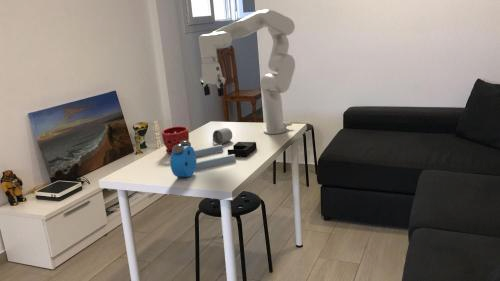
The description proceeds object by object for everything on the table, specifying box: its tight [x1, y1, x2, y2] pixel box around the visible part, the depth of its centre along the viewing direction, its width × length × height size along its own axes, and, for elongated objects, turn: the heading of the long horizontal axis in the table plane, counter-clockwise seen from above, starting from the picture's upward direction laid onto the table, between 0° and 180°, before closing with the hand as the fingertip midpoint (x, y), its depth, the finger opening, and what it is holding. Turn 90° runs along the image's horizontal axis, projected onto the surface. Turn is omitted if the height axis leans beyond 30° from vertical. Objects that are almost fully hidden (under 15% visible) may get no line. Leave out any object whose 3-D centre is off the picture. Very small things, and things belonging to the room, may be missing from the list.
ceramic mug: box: [212, 127, 233, 146], centre depth 236 cm, size 11×8×8 cm
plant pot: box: [161, 125, 190, 156], centre depth 226 cm, size 13×13×12 cm
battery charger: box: [227, 141, 258, 159], centre depth 215 cm, size 13×10×4 cm
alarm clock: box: [169, 140, 197, 179], centre depth 190 cm, size 13×6×15 cm, turn 163°
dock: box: [194, 144, 237, 170], centre depth 210 cm, size 18×20×3 cm
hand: (214, 95), depth 222 cm, fingers open, 9 cm apart
